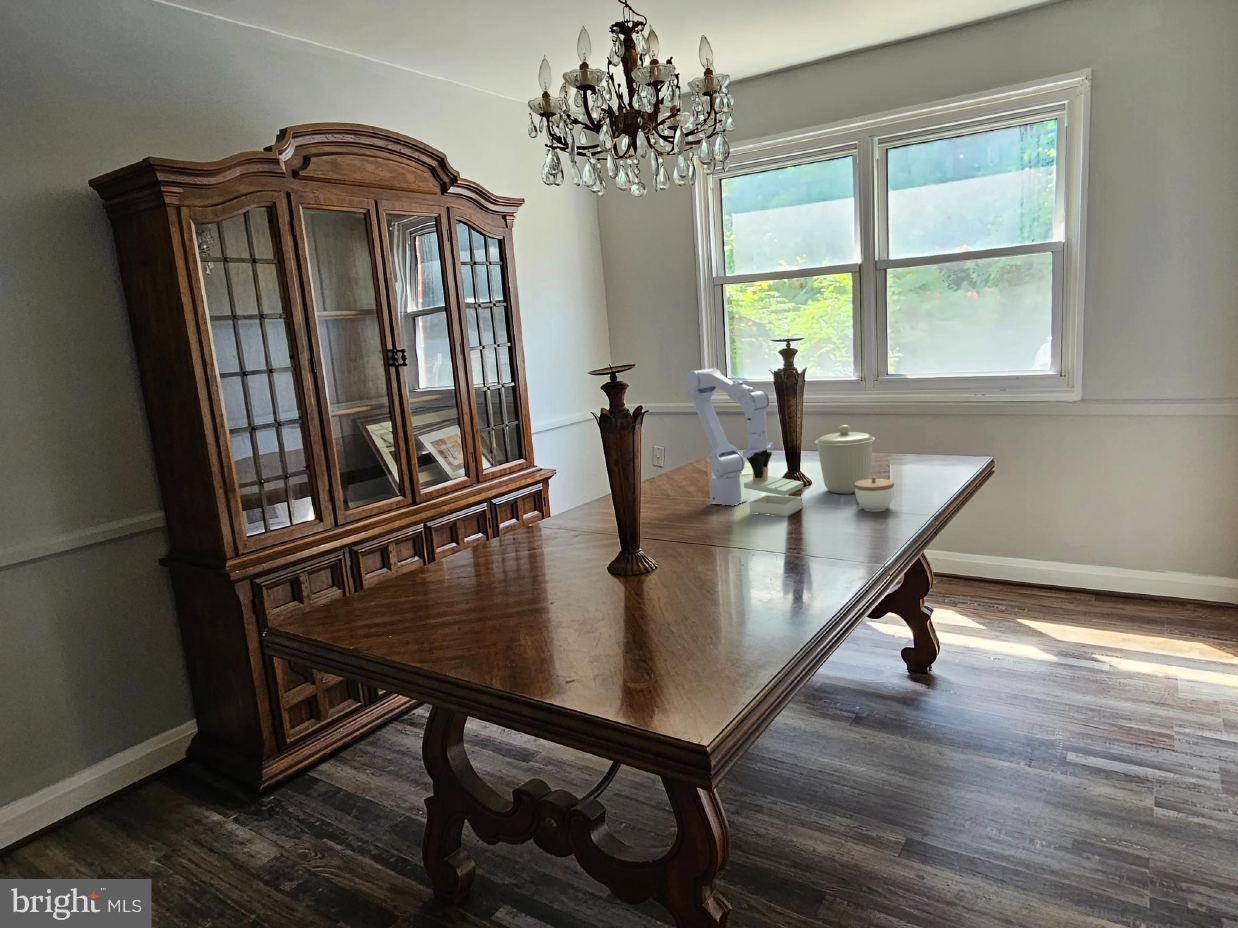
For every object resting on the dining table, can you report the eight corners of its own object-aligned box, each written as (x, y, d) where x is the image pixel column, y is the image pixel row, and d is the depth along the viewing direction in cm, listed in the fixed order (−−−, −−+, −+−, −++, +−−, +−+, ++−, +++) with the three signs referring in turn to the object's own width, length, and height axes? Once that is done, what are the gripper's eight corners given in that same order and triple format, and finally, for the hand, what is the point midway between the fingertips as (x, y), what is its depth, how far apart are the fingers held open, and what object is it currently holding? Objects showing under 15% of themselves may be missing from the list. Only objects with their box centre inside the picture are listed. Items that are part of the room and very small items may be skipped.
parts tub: (750, 513, 227) (749, 502, 226) (766, 505, 234) (766, 494, 234) (786, 516, 219) (785, 504, 219) (802, 508, 227) (801, 496, 226)
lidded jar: (900, 511, 212) (899, 478, 210) (861, 515, 212) (860, 482, 211) (887, 503, 223) (886, 471, 221) (851, 506, 223) (849, 475, 221)
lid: (743, 487, 226) (744, 469, 224) (762, 479, 234) (763, 462, 233) (784, 496, 217) (785, 477, 216) (803, 487, 226) (804, 469, 225)
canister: (806, 491, 248) (802, 427, 244) (849, 481, 255) (846, 419, 252) (844, 499, 232) (840, 431, 228) (889, 489, 239) (886, 422, 235)
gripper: (756, 436, 218) (760, 482, 220) (781, 428, 229) (784, 472, 231) (735, 436, 222) (739, 481, 225) (760, 428, 233) (763, 471, 235)
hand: (760, 477), depth 228 cm, fingers closed on lid
